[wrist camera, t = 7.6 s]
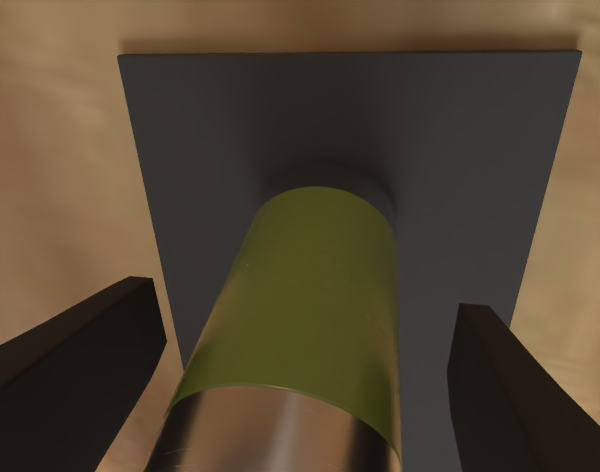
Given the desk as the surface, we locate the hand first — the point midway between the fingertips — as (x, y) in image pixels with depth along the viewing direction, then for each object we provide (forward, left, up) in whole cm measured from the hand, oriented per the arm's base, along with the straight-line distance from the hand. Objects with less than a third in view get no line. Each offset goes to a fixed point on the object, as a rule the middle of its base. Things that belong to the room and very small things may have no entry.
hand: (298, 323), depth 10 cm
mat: (-6, 0, -6) cm, 9 cm away
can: (0, 0, -6) cm, 6 cm away
